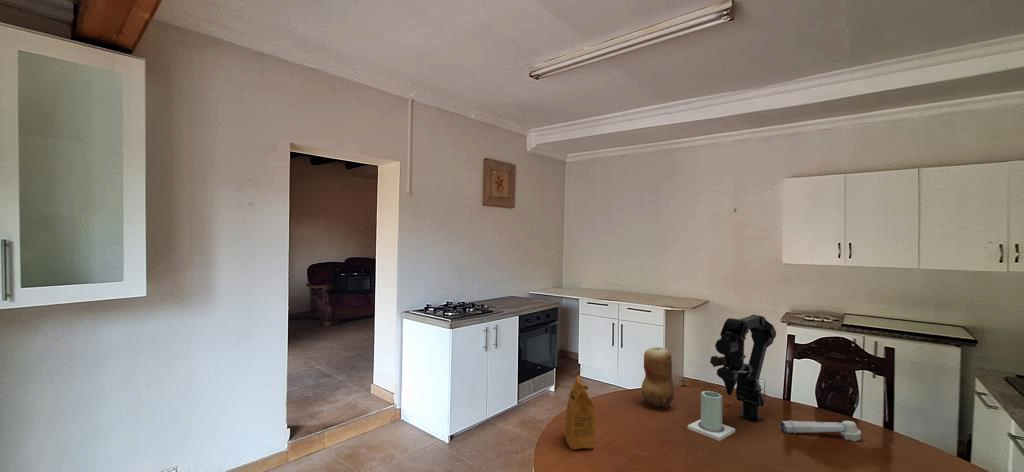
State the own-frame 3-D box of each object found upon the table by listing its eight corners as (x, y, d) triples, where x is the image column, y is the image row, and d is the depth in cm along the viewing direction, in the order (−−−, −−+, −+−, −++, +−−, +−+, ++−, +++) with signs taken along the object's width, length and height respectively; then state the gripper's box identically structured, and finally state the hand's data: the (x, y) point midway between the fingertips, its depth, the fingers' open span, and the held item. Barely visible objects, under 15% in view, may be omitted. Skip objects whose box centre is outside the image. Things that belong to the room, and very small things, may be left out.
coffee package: (590, 434, 150) (591, 374, 151) (597, 451, 138) (598, 386, 138) (563, 433, 150) (564, 373, 151) (567, 451, 138) (568, 385, 138)
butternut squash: (635, 401, 182) (636, 344, 182) (662, 398, 185) (662, 343, 186) (653, 414, 169) (654, 353, 169) (682, 411, 172) (682, 351, 172)
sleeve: (714, 422, 158) (715, 391, 158) (725, 430, 152) (725, 397, 152) (697, 422, 158) (698, 391, 158) (707, 430, 151) (707, 398, 151)
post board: (703, 420, 163) (703, 408, 163) (735, 431, 154) (735, 418, 154) (687, 428, 156) (687, 415, 156) (719, 441, 146) (719, 427, 146)
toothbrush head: (778, 418, 157) (853, 416, 152) (781, 435, 157) (856, 434, 151) (784, 424, 152) (862, 422, 146) (786, 442, 152) (865, 441, 146)
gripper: (723, 345, 171) (722, 383, 170) (703, 350, 159) (702, 391, 158) (753, 350, 162) (752, 390, 162) (734, 356, 150) (732, 399, 149)
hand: (734, 392), depth 158 cm, fingers open, 9 cm apart
